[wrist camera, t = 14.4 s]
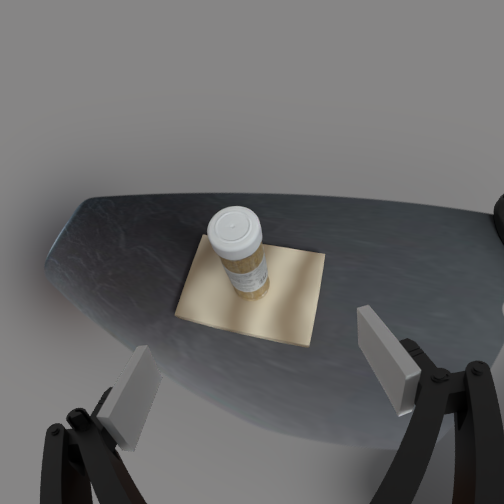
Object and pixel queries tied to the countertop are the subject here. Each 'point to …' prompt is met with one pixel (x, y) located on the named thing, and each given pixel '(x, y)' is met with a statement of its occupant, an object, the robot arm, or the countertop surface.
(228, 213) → the sprinkles bottle
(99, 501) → the robot arm
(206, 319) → the birch board
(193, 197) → the countertop surface
